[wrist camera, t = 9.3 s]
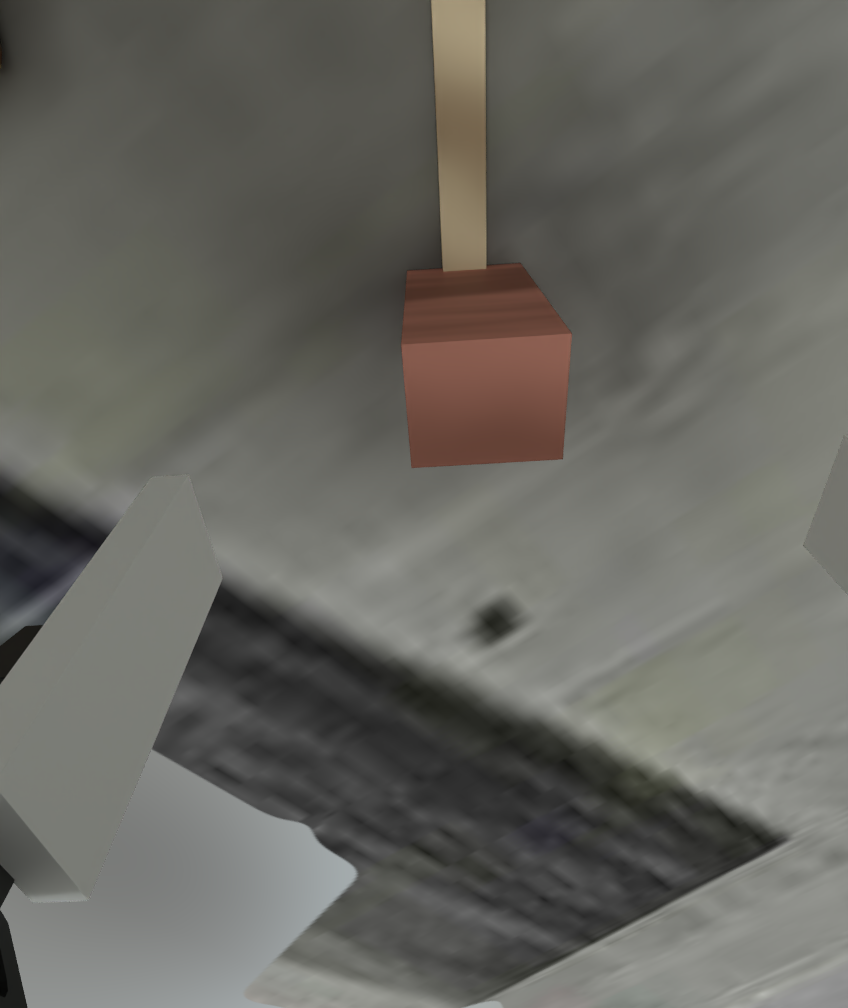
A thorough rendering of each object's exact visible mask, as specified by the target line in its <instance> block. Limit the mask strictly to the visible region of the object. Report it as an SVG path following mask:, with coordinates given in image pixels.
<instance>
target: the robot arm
mask: <svg viewBox="0 0 848 1008" xmlns="http://www.w3.org/2000/svg"><path fill="white" fill-rule="evenodd" d="M803 546H804V547H805V548H806V549H807V550H808V551H809V553H810V554H811V555H812V556H813V557H814V558H815V559H816V560H817V561H818V563H819V564H820V565H821V566H822V567H823V568H824V569H825V570H826V571H827V573H828V574H829V575H830V576H831V577H832V578H833V579H834V580H835V581H836V583H837V584H838V585H839V586H840V587H841V588H842V589H843V590H844V591H845V593H846V594H847V595H848V435H844V437H843V440H842V442H841V445H840V448H839V450H838V453H837V456H836V459H835V461H834V464H833V467H832V469H831V472H830V475H829V477H828V480H827V483H826V486H825V488H824V491H823V494H822V496H821V499H820V502H819V504H818V507H817V510H816V513H815V515H814V518H813V521H812V523H811V526H810V529H809V531H808V534H807V537H806V540H805V542H804V545H803ZM222 578H223V577H222V574H221V571H220V568H219V565H218V562H217V559H216V556H215V553H214V550H213V547H212V544H211V541H210V538H209V535H208V532H207V529H206V526H205V523H204V520H203V517H202V514H201V511H200V507H199V504H198V501H197V498H196V495H195V492H194V489H193V486H192V483H191V480H190V477H189V475H173V476H156V477H151V478H150V479H149V481H148V482H147V484H146V485H145V486H144V488H143V489H142V490H141V492H140V493H139V495H138V496H137V497H136V499H135V500H134V501H133V503H132V504H131V506H130V507H129V508H128V510H127V511H126V512H125V514H124V515H123V517H122V518H121V519H120V521H119V522H118V523H117V525H116V526H115V528H114V529H113V530H112V532H111V533H110V534H109V536H108V537H107V539H106V540H105V541H104V543H103V544H102V545H101V547H100V548H99V550H98V551H97V552H96V554H95V555H94V556H93V558H92V559H91V561H90V562H89V563H88V565H87V566H86V567H85V569H84V570H83V572H82V573H81V574H80V576H79V577H78V578H77V580H76V581H75V583H74V584H73V585H72V587H71V588H70V589H69V591H68V592H67V594H66V595H65V596H64V598H63V599H62V600H61V602H60V603H59V605H58V606H57V607H56V609H55V610H54V611H53V613H52V614H51V616H50V617H49V618H48V620H47V621H46V622H45V624H44V625H38V626H25V627H24V628H23V629H21V630H20V631H19V632H18V633H16V634H15V635H14V636H12V637H11V638H10V639H9V640H7V641H6V642H5V643H4V644H2V645H1V646H0V907H1V905H2V903H3V902H4V900H5V898H6V896H7V894H8V892H9V890H10V888H11V887H12V884H13V883H15V884H16V885H17V886H18V888H19V889H20V890H21V891H22V892H23V893H24V894H25V895H26V896H27V897H28V898H29V899H30V900H31V901H32V902H33V903H43V902H67V901H88V900H89V898H90V896H91V893H92V891H93V888H94V886H95V884H96V881H97V879H98V876H99V874H100V872H101V869H102V867H103V864H104V862H105V860H106V857H107V855H108V852H109V850H110V847H111V845H112V843H113V840H114V838H115V835H116V833H117V831H118V828H119V826H120V823H121V821H122V819H123V816H124V814H125V812H126V809H127V806H128V804H129V802H130V799H131V797H132V795H133V792H134V790H135V788H136V785H137V782H138V780H139V778H140V776H141V773H142V771H143V768H144V766H145V763H146V761H147V759H148V756H149V754H150V751H151V749H152V747H153V744H154V742H155V739H156V737H157V735H158V732H159V730H160V727H161V725H162V723H163V720H164V718H165V715H166V713H167V711H168V708H169V706H170V703H171V701H172V699H173V696H174V694H175V691H176V689H177V687H178V684H179V682H180V679H181V677H182V674H183V672H184V670H185V667H186V665H187V662H188V660H189V658H190V655H191V653H192V650H193V648H194V646H195V643H196V641H197V638H198V636H199V634H200V631H201V629H202V626H203V624H204V622H205V619H206V617H207V614H208V612H209V610H210V607H211V605H212V602H213V600H214V598H215V595H216V593H217V590H218V588H219V586H220V583H221V581H222ZM0 1008H27V1004H26V999H25V995H24V990H23V986H22V982H21V977H20V973H19V969H18V964H17V960H16V955H15V951H14V947H13V942H12V938H11V934H10V929H9V925H8V922H7V920H6V919H5V917H4V915H3V914H2V912H1V911H0Z"/></svg>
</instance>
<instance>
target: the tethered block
mask: <svg viewBox="0 0 848 1008" xmlns="http://www.w3.org/2000/svg"><path fill="white" fill-rule="evenodd" d="M431 14H432V37H433V60H434V84H435V107H436V130H437V153H438V177H439V200H440V223H441V246H442V268H438V269H423V270H408V271H407V279H406V291H405V304H404V316H403V328H402V340H401V349H402V360H403V372H404V384H405V396H406V408H407V420H408V431H409V443H410V455H411V467H412V468H420V467H437V466H454V465H471V464H489V463H506V462H523V461H540V460H558V459H563V447H564V434H565V420H566V407H567V393H568V380H569V366H570V353H571V339H572V333H571V332H570V330H569V329H568V328H567V326H566V325H565V323H564V322H563V321H562V319H561V318H560V317H559V315H558V314H557V313H556V311H555V310H554V308H553V307H552V306H551V304H550V303H549V302H548V300H547V299H546V297H545V296H544V295H543V293H542V292H541V291H540V289H539V288H538V286H537V285H536V284H535V282H534V281H533V280H532V278H531V277H530V275H529V274H528V273H527V271H526V270H525V269H524V267H523V266H522V265H521V263H512V264H497V265H486V61H485V0H431Z"/></svg>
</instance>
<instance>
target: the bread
mask: <svg viewBox="0 0 848 1008" xmlns="http://www.w3.org/2000/svg"><path fill="white" fill-rule="evenodd" d="M1 64H2V45H1V41H0V69H1Z"/></svg>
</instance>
